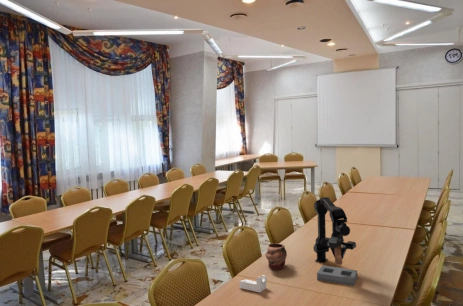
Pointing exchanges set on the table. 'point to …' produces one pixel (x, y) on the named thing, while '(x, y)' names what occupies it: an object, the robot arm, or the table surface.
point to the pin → (338, 255)
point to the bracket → (254, 284)
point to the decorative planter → (276, 256)
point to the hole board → (337, 275)
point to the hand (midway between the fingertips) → (338, 258)
